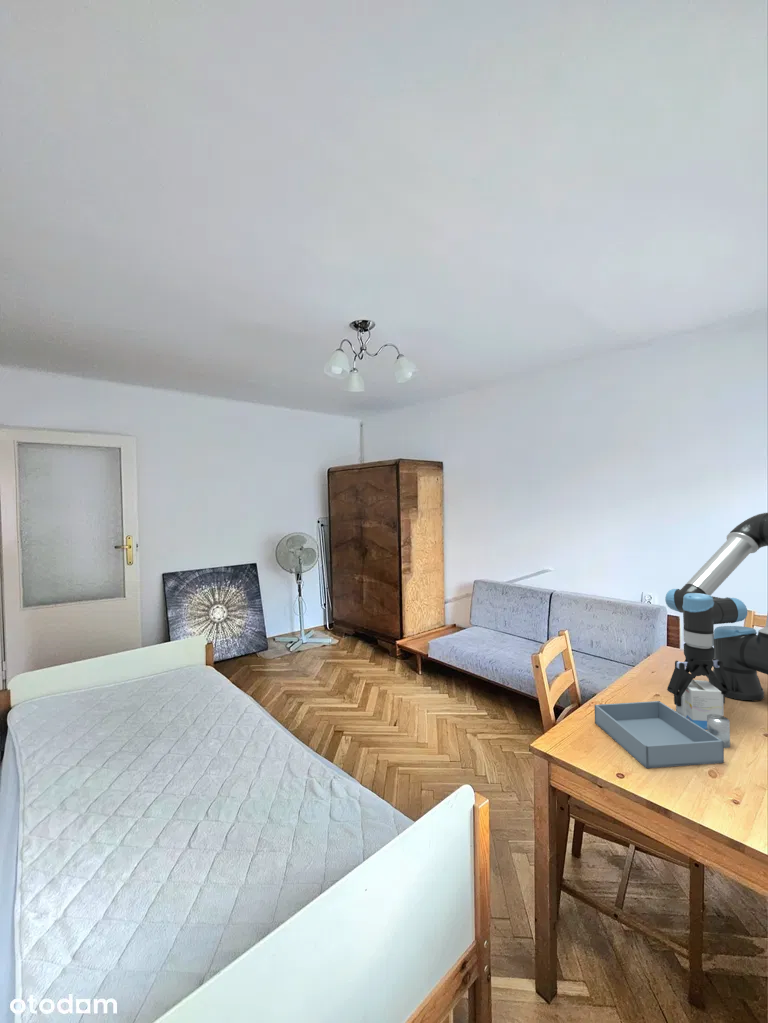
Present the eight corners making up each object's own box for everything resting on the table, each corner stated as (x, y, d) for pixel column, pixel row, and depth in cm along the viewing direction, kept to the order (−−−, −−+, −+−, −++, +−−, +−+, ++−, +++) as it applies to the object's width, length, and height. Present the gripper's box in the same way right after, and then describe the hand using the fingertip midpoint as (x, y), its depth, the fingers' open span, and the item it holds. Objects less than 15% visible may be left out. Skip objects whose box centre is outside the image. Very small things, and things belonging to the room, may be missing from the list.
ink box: (723, 731, 125) (722, 686, 125) (691, 728, 127) (691, 684, 127) (707, 716, 134) (706, 674, 133) (678, 714, 135) (677, 673, 135)
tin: (719, 737, 122) (718, 713, 122) (734, 747, 117) (734, 722, 117) (702, 738, 121) (702, 714, 121) (717, 748, 116) (717, 723, 116)
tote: (659, 718, 133) (659, 700, 133) (723, 762, 110) (723, 741, 110) (594, 722, 131) (594, 704, 131) (646, 768, 108) (645, 746, 108)
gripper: (724, 639, 135) (725, 706, 135) (652, 642, 133) (654, 711, 133) (746, 646, 127) (747, 718, 127) (670, 650, 125) (671, 723, 126)
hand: (699, 714), depth 130 cm, fingers open, 12 cm apart
